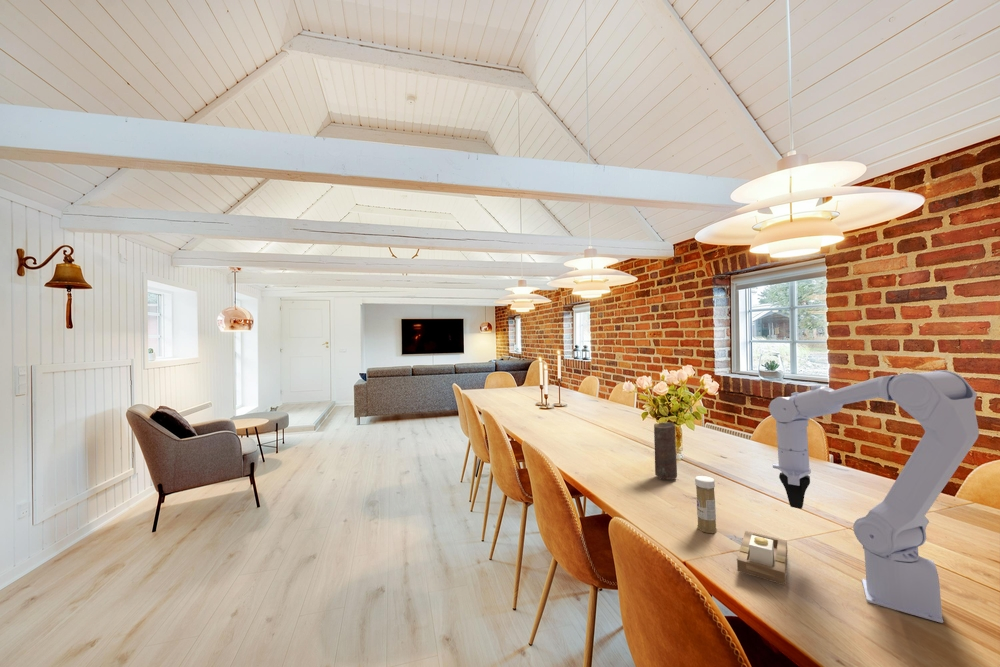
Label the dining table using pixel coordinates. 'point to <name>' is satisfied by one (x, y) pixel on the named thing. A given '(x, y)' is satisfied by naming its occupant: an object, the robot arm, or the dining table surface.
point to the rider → (761, 550)
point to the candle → (665, 450)
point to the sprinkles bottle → (706, 504)
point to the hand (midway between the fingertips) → (796, 506)
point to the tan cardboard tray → (761, 570)
